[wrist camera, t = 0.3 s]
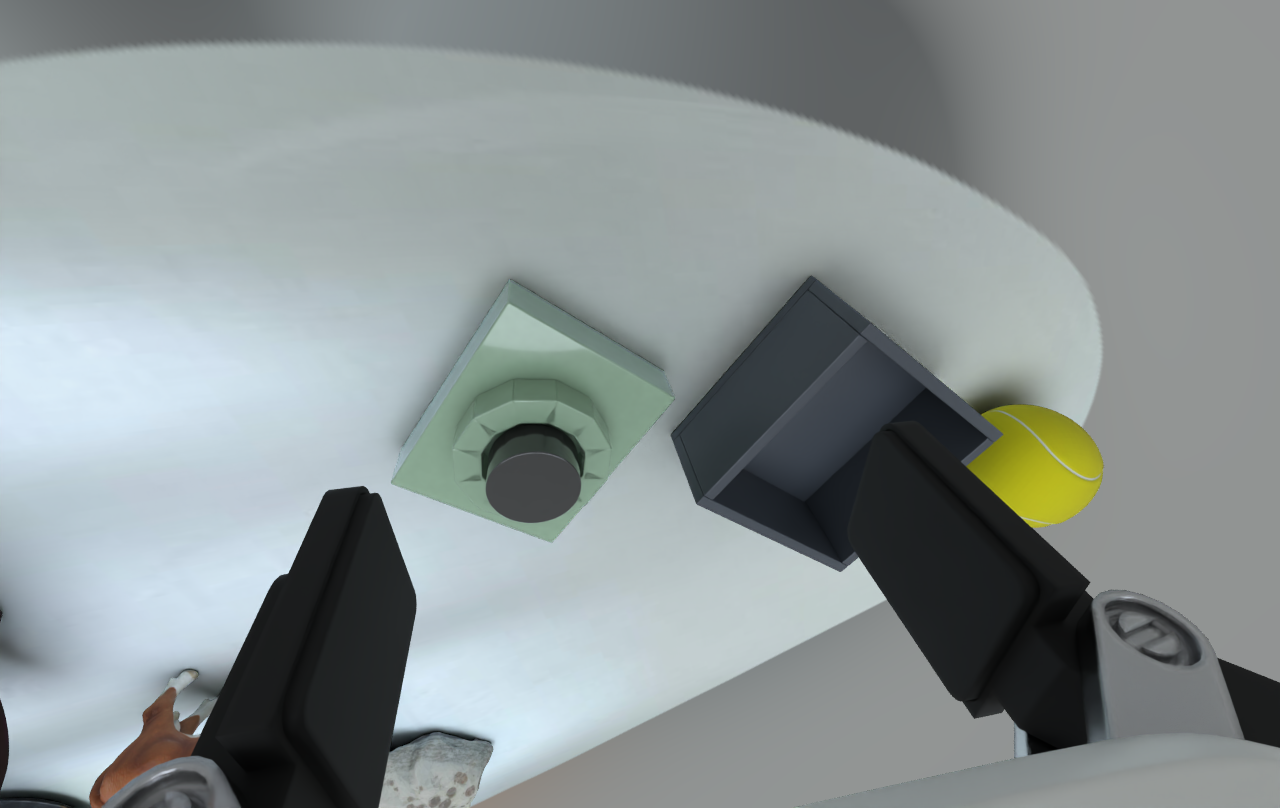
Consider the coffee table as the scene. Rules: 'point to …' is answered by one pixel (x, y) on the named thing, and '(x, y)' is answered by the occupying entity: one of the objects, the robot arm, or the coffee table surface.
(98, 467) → the coffee table surface
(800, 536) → the bin
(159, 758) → the bull figurine
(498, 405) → the push button base
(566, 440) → the button top
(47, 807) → the canister
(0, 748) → the mug
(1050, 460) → the tennis ball
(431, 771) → the decorative stone
